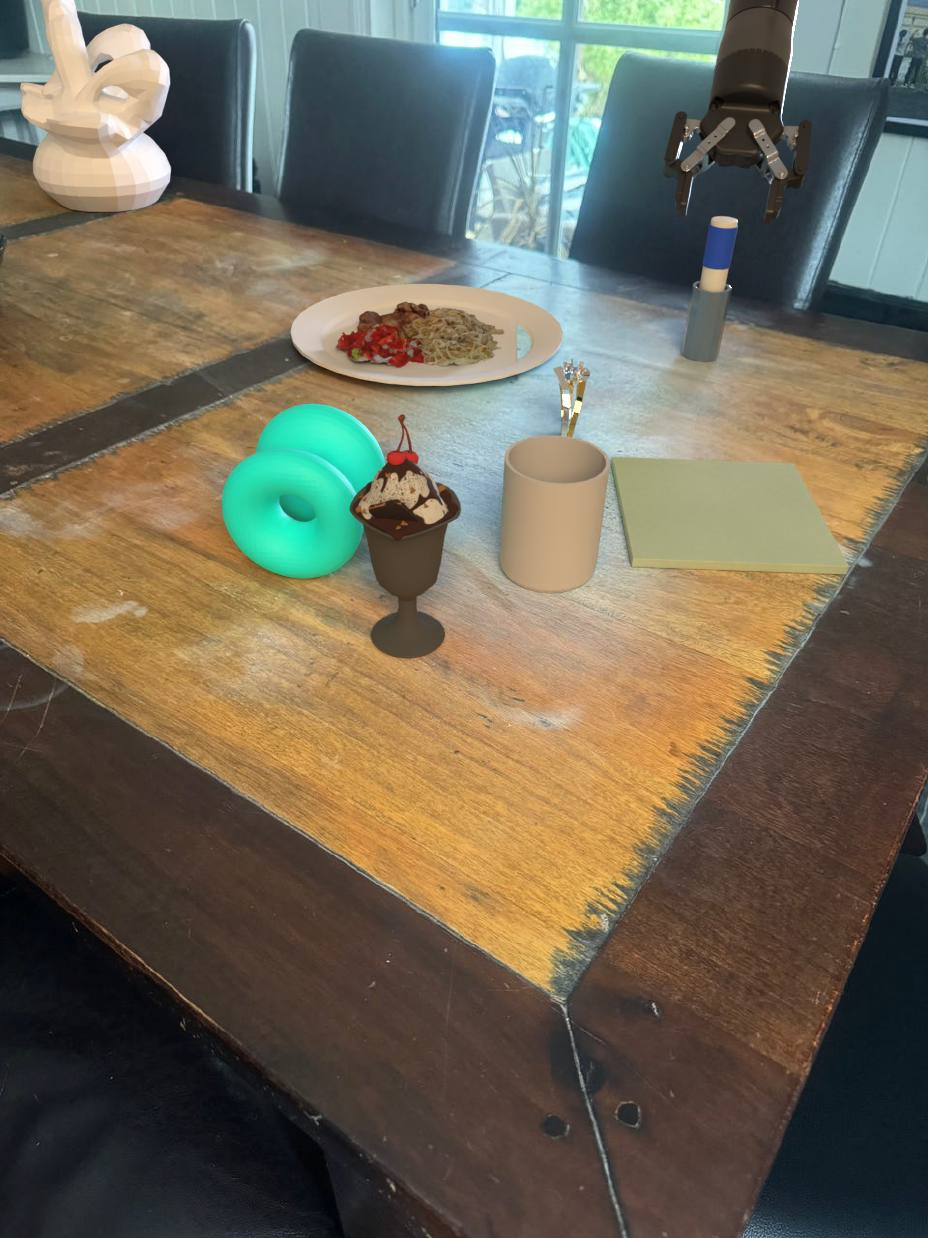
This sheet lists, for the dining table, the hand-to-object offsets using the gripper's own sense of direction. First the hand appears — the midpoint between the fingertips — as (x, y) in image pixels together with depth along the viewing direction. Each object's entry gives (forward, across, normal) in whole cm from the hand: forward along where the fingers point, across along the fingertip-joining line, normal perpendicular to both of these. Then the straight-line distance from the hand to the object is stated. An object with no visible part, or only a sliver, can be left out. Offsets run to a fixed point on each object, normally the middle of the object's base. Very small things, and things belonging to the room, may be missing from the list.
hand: (725, 216), depth 93 cm
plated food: (+15, -30, +5) cm, 34 cm away
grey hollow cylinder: (+12, 0, +8) cm, 15 cm away
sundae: (+51, -16, -30) cm, 62 cm away
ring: (+30, -11, -9) cm, 33 cm away
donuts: (+45, -26, -25) cm, 58 cm away
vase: (-16, -97, +36) cm, 105 cm away
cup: (+42, -8, -22) cm, 49 cm away
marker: (+12, 0, +8) cm, 14 cm away
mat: (+35, +4, -15) cm, 39 cm away
